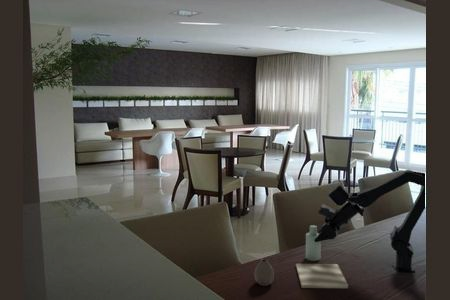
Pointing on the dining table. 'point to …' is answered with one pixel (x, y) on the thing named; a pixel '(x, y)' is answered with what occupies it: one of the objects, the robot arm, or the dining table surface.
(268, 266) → the vase
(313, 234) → the oil bottle
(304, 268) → the birch board
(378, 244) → the dining table surface
